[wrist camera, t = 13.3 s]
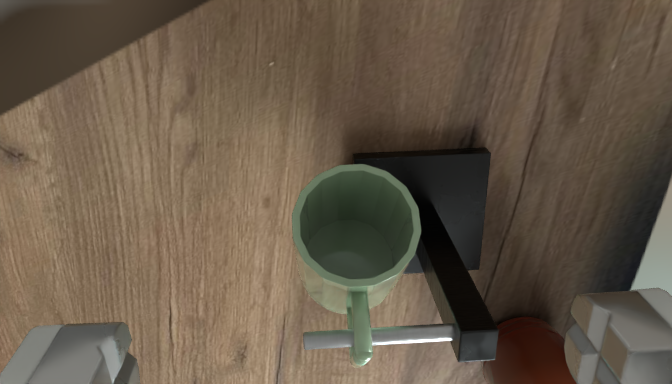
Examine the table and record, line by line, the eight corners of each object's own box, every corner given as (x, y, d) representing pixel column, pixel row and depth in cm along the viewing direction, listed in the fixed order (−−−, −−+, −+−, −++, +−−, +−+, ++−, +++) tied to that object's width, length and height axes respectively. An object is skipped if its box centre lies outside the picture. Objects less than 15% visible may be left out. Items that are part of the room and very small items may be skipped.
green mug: (297, 219, 37) (290, 167, 29) (392, 215, 38) (412, 161, 29) (303, 373, 34) (297, 363, 25) (408, 366, 34) (437, 355, 26)
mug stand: (298, 155, 40) (298, 274, 25) (485, 147, 40) (589, 258, 26) (304, 271, 44) (308, 429, 30) (474, 261, 45) (558, 412, 30)
